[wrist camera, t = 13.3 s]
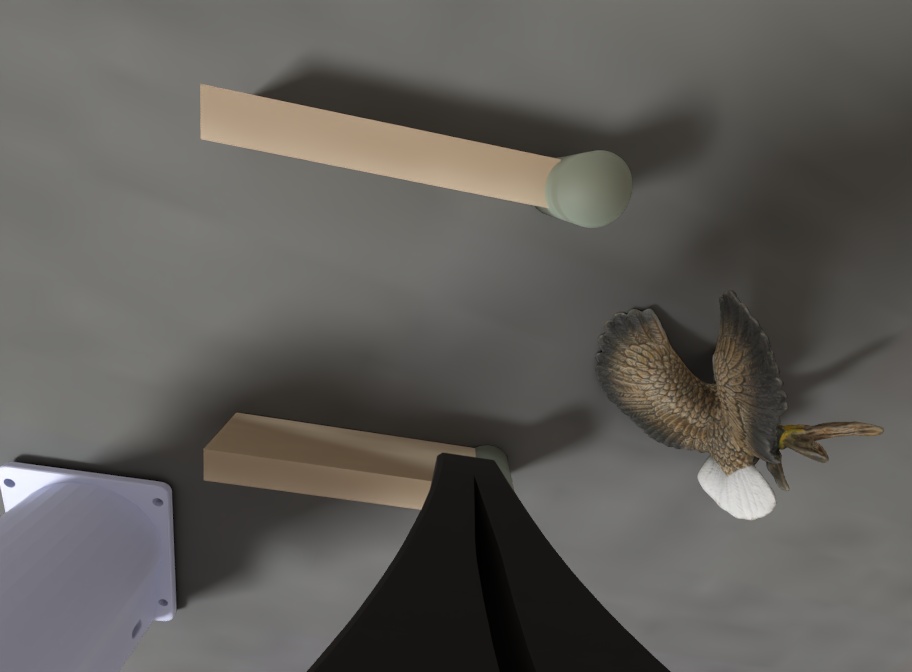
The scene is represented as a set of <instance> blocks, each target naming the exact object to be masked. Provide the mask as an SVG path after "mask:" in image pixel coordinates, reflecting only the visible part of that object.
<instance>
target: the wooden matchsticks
mask: <svg viewBox="0 0 912 672" xmlns="http://www.w3.org/2000/svg"><path fill="white" fill-rule="evenodd" d="M200 106H201V139H203V140H208V141H213V142H218V143H224V144H229V145H234V146H239V147H244V148H249V149H254V150H259V151H264V152H269V153H274V154H279V155H284V156H289V157H294V158H299V159H304V160H309V161H314V162H319V163H324V164H329V165H334V166H339V167H344V168H349V169H354V170H359V171H364V172H369V173H374V174H379V175H384V176H389V177H394V178H399V179H404V180H409V181H414V182H419V183H424V184H429V185H434V186H439V187H444V188H449V189H454V190H459V191H464V192H469V193H474V194H479V195H484V196H489V197H494V198H499V199H504V200H509V201H514V202H519V203H524V204H529V205H534V206H535V207H536V208H537V209H538V210H539V211H541V212H542V213H545V214H547V215H550V216H553V217H556V218H559V219H562V220H565V221H568V222H571V223H573V224H576V225H579V226H582V227H587V228H597V227H601V226H605V225H607V224H609V223H611V222H613V221H614V220H615V219H617V218H618V217H619V216H620V215H621V214H622V212H623V211H624V210H625V208H626V207H627V205H628V203H629V201H630V198H631V194H632V188H633V182H632V176H631V172H630V170H629V168H628V166H627V164H626V163H625V162H624V160H623V159H621V158H620V157H619V156H618V155H616V154H614V153H612V152H609V151H604V150H596V151H590V152H585V153H580V154H575V155H570V156H565V157H560V158H552V157H547V156H542V155H537V154H532V153H528V152H523V151H518V150H513V149H509V148H504V147H499V146H494V145H489V144H485V143H480V142H475V141H470V140H466V139H461V138H456V137H451V136H447V135H442V134H437V133H432V132H427V131H423V130H418V129H413V128H408V127H404V126H399V125H394V124H389V123H385V122H380V121H375V120H370V119H365V118H361V117H356V116H351V115H346V114H342V113H337V112H332V111H327V110H323V109H318V108H313V107H308V106H303V105H299V104H294V103H289V102H284V101H280V100H275V99H270V98H265V97H261V96H256V95H251V94H246V93H241V92H237V91H232V90H227V89H222V88H218V87H213V86H208V85H203V84H200ZM443 452H444V453H450V454H457V455H464V456H470V457H477V458H484V459H490V460H494V461H495V462H496V463H497V465H498V467H499V468H500V470H501V471H502V473H503V474H504V476H505V478H506V479H507V481H508V483H509V484H510V486H511V487H512V489H513V490H514V488H513V483H512V478H511V474H510V469H509V465H508V460H507V457H506V455H505V453H504V452H503V451H502V450H501V449H499V448H498V447H495V446H492V445H482V446H479V447H476V448H471V447H464V446H457V445H451V444H444V443H437V442H431V441H424V440H417V439H411V438H404V437H397V436H390V435H384V434H377V433H370V432H364V431H357V430H350V429H344V428H337V427H330V426H323V425H317V424H310V423H303V422H297V421H290V420H283V419H277V418H270V417H263V416H257V415H250V414H243V413H235V415H234V416H233V417H232V418H231V419H230V420H229V421H228V422H227V423H226V424H225V426H224V427H223V428H222V429H221V430H220V431H219V432H218V433H217V434H216V436H215V437H214V438H213V439H212V440H211V441H210V442H209V443H208V444H207V446H206V447H205V448H204V449H203V456H204V480H205V481H213V482H220V483H227V484H235V485H242V486H250V487H257V488H264V489H272V490H279V491H286V492H294V493H301V494H308V495H316V496H323V497H331V498H338V499H345V500H353V501H360V502H367V503H375V504H382V505H390V506H397V507H404V508H412V509H419V510H421V509H422V507H423V504H424V502H425V500H426V497H427V495H428V493H429V490H430V487H431V482H432V477H433V473H434V468H435V463H436V458H437V456H438V455H439V454H441V453H443Z"/></svg>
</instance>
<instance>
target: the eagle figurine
mask: <svg viewBox="0 0 912 672" xmlns="http://www.w3.org/2000/svg"><path fill="white" fill-rule="evenodd" d="M722 296H723V297H719V302H720V310H721V321H720V334H719V336H718V342H717V346H716V350H715V353H714V355H713V359H712V362H713V371H714V380H713V383H712V384H708V383H705V382H703V381H701V380H699V379H698V378H697V377H696V376H694V375H693V374H692V373H691V372H690V370H689V369H688V368H687V367H686V366H685V364H684V363H683V362H682V360H681V359H680V358H679V356H678V355H677V354H676V353H675V351H674V350H673V349H672V347H671V345H670V343H669V340H668V338H667V336H666V333H665V331H664V329H663V328H662V325H661V323H660V320H659V319H658V317H657V316H656V314H655V313H654V311H653V310H652V309H646V310H644V311H643V312H642V311H640V310H637V309H631V310H630V311H629V313H628V314H625V313H623V312H618V313H616V314H615V315H614V319H613V320H608V321H607V322H606V323H605V325H604V328H605V334H604V335H600V337H599V341H598V342H599V346H600V348H601V350H602V353H597V354H596V359H597V361H598V363H599V365H597V366H596V372H597V375H598V379H599V381H600V382H601V383H602V389H603V391H605V392H606V393H607V394H608V398H609V399H610V400H611V401H612V402H614V403H615V404H617V407H618V408H619V409H620V410H621V411H622V412H623V413H624V414H626V415H628V416H630V419H631V420H632V421H634V422H635V423H636V425H637V426H639V427H640V428H642V429H644V432H645V433H646V434H648V436H649V437H650V438H653V439H655V440H656V441H657V442H661V443H664V444H665V445H666V446H668V447H674V448H676V449H681V448H685V449H687V450H694V449H696V450H697V451H699V452H701V453H703V452H709V453H710V456H709V457H708V458H707V460H706V461H705V463H704V465H703V466H702V468H701V469H700V471H699V474H698V480H699V483H700V484H701V486H702V488H703V489H704V491H706V492H707V493H708V494H709V495H710V497H712V498H713V499H714V500H715V501H716V503H717V504H718V505H719V506H720V507H721V508H722V509H723V510H725V511H728V512H729V513H730V514H731V515H733V516H734V517H736V518H738V519H747V520H754V519H757V518H760V517H764V516H765V515H767V514H768V513H770V512H772V510H773V509H774V507H775V506H776V504H777V502H776V497H775V494H774V492H773V490H772V488H771V487H770V486H769V484H768V482H767V481H766V480H765V479H764V477H763V476H762V475H761V473H760V472H759V471H758V470H757V469H756V467H755V466H754V465H755V464H756V463H757V462H758V460H759V459H762V460H763V461H765V462H766V463H767V469H768V470H769V471H770V472H771V474H772V475H773V477H774V479H775V481H776V483H777V485H778V487H779V488H780V489H782V490H784V491H789V486H788V484H787V482H786V480H785V476H784V472H783V468H782V464H781V457H782V455H781V453H780V451H779V449H785V448H787V447H788V448H790V449H792V450H794V451H796V452H798V453H800V454H802V455H804V456H806V457H809V458H811V459H814V460H816V461H818V462H821V463H825V462H827V461H828V459H829V458H828V455H827V453H826V451H825V450H824V449H823V447H822V446H821V445H820V444H818V443H817V442H815V441H816V440H821V439H826V438H831V437H837V436H846V435H859V436H875V435H879V434H882V433H883V432H884V429H883V428H882V427H879V426H876V425H872V424H866V423H861V422H831V423H823V424H818V425H815V426H809V425H786V426H782V425H779V424H780V422H781V421H780V418H779V417H780V415H782V414H784V413H785V411H786V410H787V409H788V405H787V403H786V399H787V394H786V393H785V392H784V391H783V390H781V388H782V386H783V382H782V381H781V379H780V378H779V373H780V371H779V369H778V366H777V364H776V361H775V358H774V353H773V352H772V350H771V345H770V342H769V339H768V336H767V335H766V334H764V332H763V330H762V328H761V327H760V324H759V322H758V321H757V320H756V319H755V318H754V317H753V316H752V315H751V314H750V312H749V309H748V308H747V307H746V305H744V304H743V303H741V302H740V300H739V299H738V298H737V295H736V293H735V292H734V291H732V290H729V291H728V292H724V293H723V295H722Z"/></svg>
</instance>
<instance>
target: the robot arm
mask: <svg viewBox="0 0 912 672" xmlns="http://www.w3.org/2000/svg"><path fill="white" fill-rule="evenodd" d="M0 486H1V491H2V496H3V501H4V506H5V511H6V513H5V514H3V515H2V516H1V517H0V672H119V671H120V669H121V668H122V666H123V665H124V663H125V662H126V660H127V659H128V657H129V656H130V654H131V653H132V651H133V650H134V648H135V647H136V645H137V644H138V642H139V641H140V639H141V638H142V636H143V635H144V633H145V632H146V630H147V629H148V627H149V626H150V624H151V623H152V621H153V620H159V621H169V620H171V619H172V618H173V617H174V615H175V614H176V611H177V609H176V584H175V558H174V532H173V506H172V490H171V487H170V486H169V485H168V484H166V483H164V482H159V481H152V480H145V479H137V478H130V477H122V476H115V475H107V474H100V473H92V472H85V471H78V470H70V469H63V468H55V467H48V466H40V465H33V464H26V463H18V462H8V463H5V464H4V465H2V466H1V467H0ZM158 498H159V499H161V500H162V501H161V500H159V499H158ZM307 672H670V671H669V670H668V669H667V668H666V667H665V666H664V665H663V664H662V663H660V662H659V661H658V660H657V659H656V658H655V657H654V656H653V655H652V654H651V653H650V652H649V651H648V650H647V649H646V648H645V647H643V646H642V645H641V644H640V643H639V642H638V641H637V640H636V639H635V638H634V637H633V636H632V635H631V634H630V633H629V632H628V631H627V630H626V629H625V628H624V627H623V626H622V625H621V624H620V623H619V622H618V621H617V620H616V619H615V618H614V617H613V616H612V615H611V614H610V613H609V612H608V611H607V610H606V609H605V608H604V607H603V606H602V604H601V603H600V602H599V601H598V600H597V599H596V598H595V597H594V596H593V595H592V593H591V592H590V591H589V590H588V589H587V588H586V587H585V586H584V585H583V583H582V582H581V581H580V580H579V579H578V578H577V577H576V575H575V574H574V573H573V572H572V571H571V570H570V568H569V567H568V566H567V565H566V563H565V562H564V561H563V560H562V558H561V557H560V556H559V554H558V553H557V552H556V551H555V549H554V548H553V547H552V546H551V544H550V543H549V542H548V540H547V539H546V538H545V536H544V535H543V533H542V532H541V531H540V529H539V528H538V526H537V525H536V523H535V522H534V521H533V519H532V518H531V516H530V515H529V513H528V512H527V510H526V509H525V507H524V506H523V504H522V503H521V501H520V500H519V498H518V497H517V495H516V494H515V492H514V490H513V489H512V487H511V486H510V484H509V483H508V481H507V479H506V478H505V476H504V474H503V473H502V471H501V470H500V468H499V467H498V465H497V463H496V462H495V461H494V460H490V459H484V458H477V457H470V456H464V455H457V454H450V453H444V452H443V453H441V454H439V455H438V456H437V458H436V463H435V468H434V473H433V477H432V482H431V487H430V490H429V493H428V495H427V497H426V500H425V502H424V504H423V507H422V509H421V511H420V513H419V515H418V517H417V519H416V521H415V523H414V525H413V527H412V528H411V530H410V532H409V534H408V536H407V538H406V540H405V541H404V543H403V545H402V547H401V548H400V550H399V552H398V553H397V555H396V556H395V558H394V560H393V561H392V563H391V564H390V566H389V567H388V569H387V570H386V572H385V573H384V575H383V576H382V578H381V579H380V581H379V582H378V584H377V585H376V586H375V588H374V589H373V591H372V592H371V593H370V595H369V596H368V597H367V599H366V600H365V602H364V603H363V604H362V606H361V607H360V608H359V610H358V611H357V612H356V614H355V615H354V616H353V617H352V619H351V620H350V621H349V622H348V624H347V625H346V626H345V627H344V629H343V630H342V631H341V632H340V633H339V634H338V636H337V637H336V638H335V639H334V640H333V642H332V643H331V644H330V645H329V646H328V647H327V649H326V650H325V651H324V652H323V653H322V655H321V656H320V657H319V658H318V659H317V660H316V662H315V663H314V664H313V665H312V666H311V667H310V669H309V670H308V671H307Z"/></svg>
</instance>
